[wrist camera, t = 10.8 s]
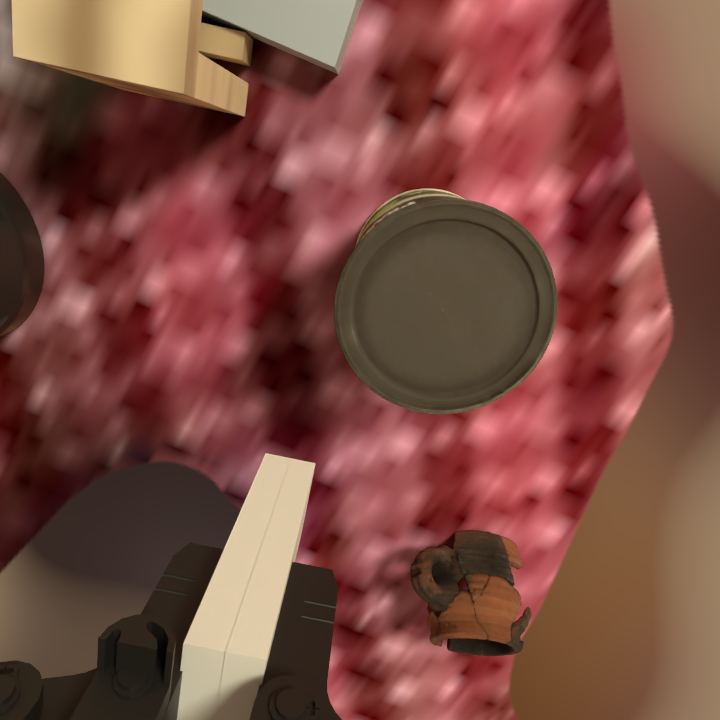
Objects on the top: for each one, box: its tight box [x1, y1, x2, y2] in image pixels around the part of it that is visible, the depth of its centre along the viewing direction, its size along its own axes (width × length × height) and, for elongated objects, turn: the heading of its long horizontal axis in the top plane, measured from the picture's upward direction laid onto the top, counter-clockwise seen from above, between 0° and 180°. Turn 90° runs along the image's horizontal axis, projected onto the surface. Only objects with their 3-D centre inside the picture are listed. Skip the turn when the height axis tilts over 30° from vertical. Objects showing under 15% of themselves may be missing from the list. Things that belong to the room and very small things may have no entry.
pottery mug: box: [411, 530, 531, 656], centre depth 44 cm, size 12×9×8 cm
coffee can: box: [334, 189, 557, 414], centre depth 31 cm, size 10×10×14 cm
